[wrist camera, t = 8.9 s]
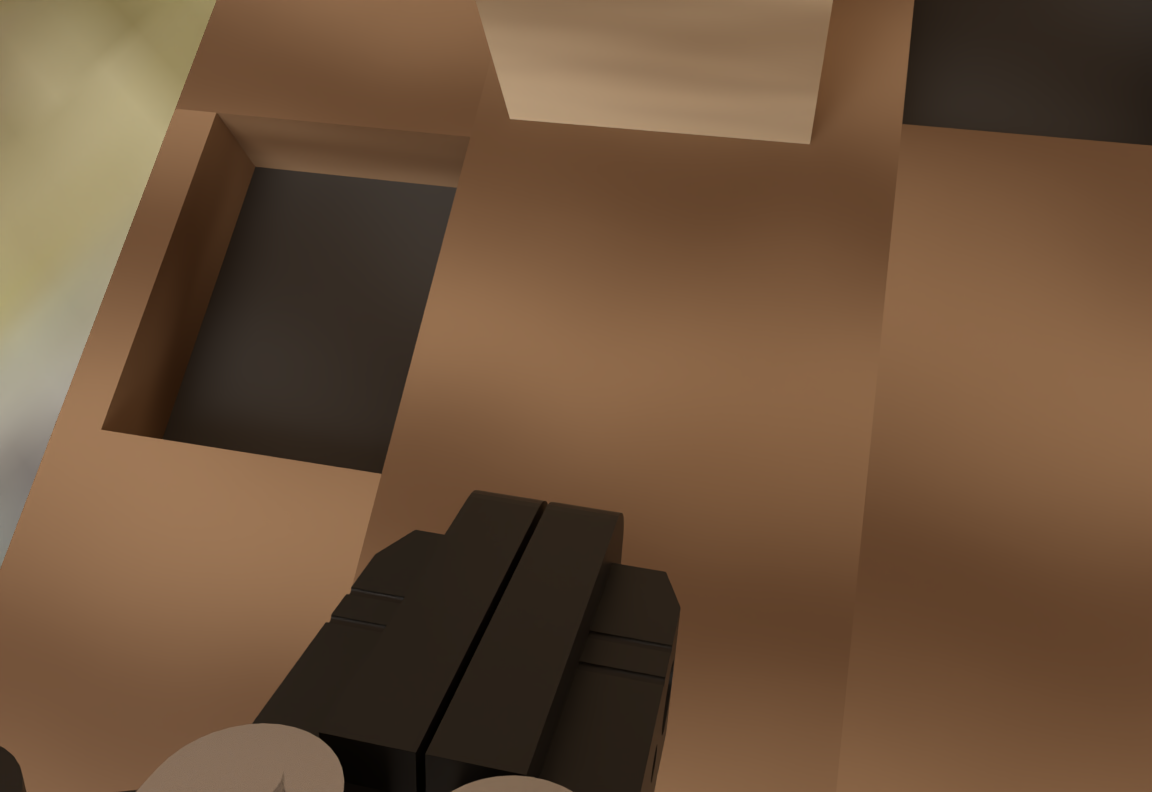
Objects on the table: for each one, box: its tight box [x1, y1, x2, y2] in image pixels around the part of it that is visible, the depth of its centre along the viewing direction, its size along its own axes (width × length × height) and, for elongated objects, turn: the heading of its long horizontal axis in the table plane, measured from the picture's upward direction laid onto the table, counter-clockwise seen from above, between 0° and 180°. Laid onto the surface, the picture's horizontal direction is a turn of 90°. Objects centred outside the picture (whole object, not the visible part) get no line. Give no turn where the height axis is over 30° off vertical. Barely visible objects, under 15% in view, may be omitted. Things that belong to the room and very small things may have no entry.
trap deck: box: [0, 0, 1152, 792], centre depth 16 cm, size 28×18×6 cm, turn 169°
